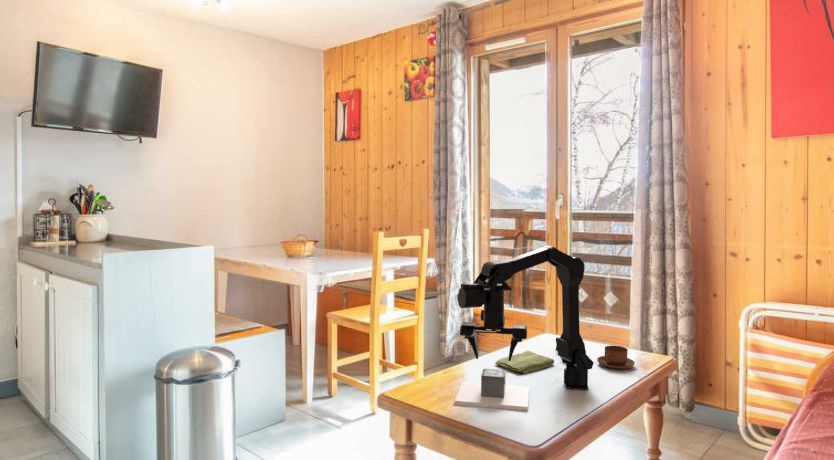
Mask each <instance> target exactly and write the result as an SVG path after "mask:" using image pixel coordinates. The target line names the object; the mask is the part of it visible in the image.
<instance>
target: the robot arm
mask: <svg viewBox="0 0 834 460" xmlns="http://www.w3.org/2000/svg"><path fill="white" fill-rule="evenodd" d="M547 262H548V264H550V265H551V266H553V267H555V270H556V276H557V278H558V280H559V282H560V285H561V297H562V298H561V305H562V308H561V309H562V333H561V334H560V337H556V338H555V351H557V355H558V356H559V357H560V359H561V362H562V363H563V364H565V368H564V369H563V384H564V385H565V388H566V389H576V390H589V386H588V385H589V384H588V383H589V382H588V381H589V376H588V375H589V370H592V369H593V366H594V363H595V362H594V361H593V360H592V359H591V358H590V357H589V356H588V355H587V351H586V345H585V341H584V339H583V338H582V336H581V333H580V285H581V284H582V281H583V280H584V276H585V275H584V274H585V267H586V266H585V262H584V261H583V260H582V258H580V257H576V256H572V255H569V254H567V253H566V252H563V251H561V250H559V249H558V248H556V247H555V246H551V245H544V246H542V247H540V248H537V249H534V250H532V251H527V252H526V253H523V254H520V255H517V256H514V257H512V258H507V259H495V260H490V261H486V262H484V263H483V265H482V267H481V270H480V272H479V274H478V275H477V277H476V278H475V280H474V282H473V283H460V288H459V289H458V291H457V294H456V297H457V298H456V299H457V303H458V306H459V307H460V309H470V308H471V309H472V308H481V307H483V309H481V310H480V321H481V322H483V325H477V323H476V321H475V322H473V321H472V322H471V321H470V322H469V321H463V323H462V324H461V325H460V327H459V335H460V336H463V337H464V339H466V340H468V342H469V344H470V346H471V348H472V351H473V353H474V356H475V359H476V360H478V359H479V348H478V347H479V345H478V333H481V334H498V335H511V339H510V347H509V352H508V353H509V354H508V357H509V361H510V360H511V357H512V355H514V351H515V348H516V347H517V345H518V343H521V342H523V340H527V338H528V326H527V325H526V324H512V325H513V326H512V327H508V326H507V327H505V326H506V325H505V323H506V321H505V320H506V319H505V318H506V317H505V291H511V290H512V287H511V286H510V285H508V283H507V281H508V280H510V279H512V278H513V276H514V275H515V274H517V273H519V272H521V271H524V270H528V269H530V268H533V267H535V266H538V265H539V266H540V265H542V264H544V263H547Z"/></svg>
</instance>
